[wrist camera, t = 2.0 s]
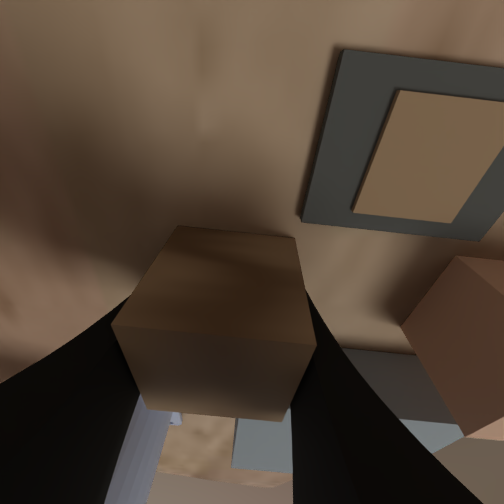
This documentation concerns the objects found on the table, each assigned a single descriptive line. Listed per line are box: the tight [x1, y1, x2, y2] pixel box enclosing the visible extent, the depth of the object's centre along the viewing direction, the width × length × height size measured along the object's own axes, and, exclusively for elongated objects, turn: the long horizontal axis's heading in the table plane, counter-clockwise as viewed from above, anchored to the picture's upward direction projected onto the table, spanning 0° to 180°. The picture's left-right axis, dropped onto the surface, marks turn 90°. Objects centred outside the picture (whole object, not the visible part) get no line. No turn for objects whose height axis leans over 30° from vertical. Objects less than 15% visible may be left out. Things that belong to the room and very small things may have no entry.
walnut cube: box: [111, 226, 317, 422], centre depth 9 cm, size 5×5×5 cm
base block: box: [231, 348, 464, 473], centre depth 16 cm, size 12×12×4 cm
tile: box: [300, 49, 504, 242], centre depth 7 cm, size 7×5×1 cm
